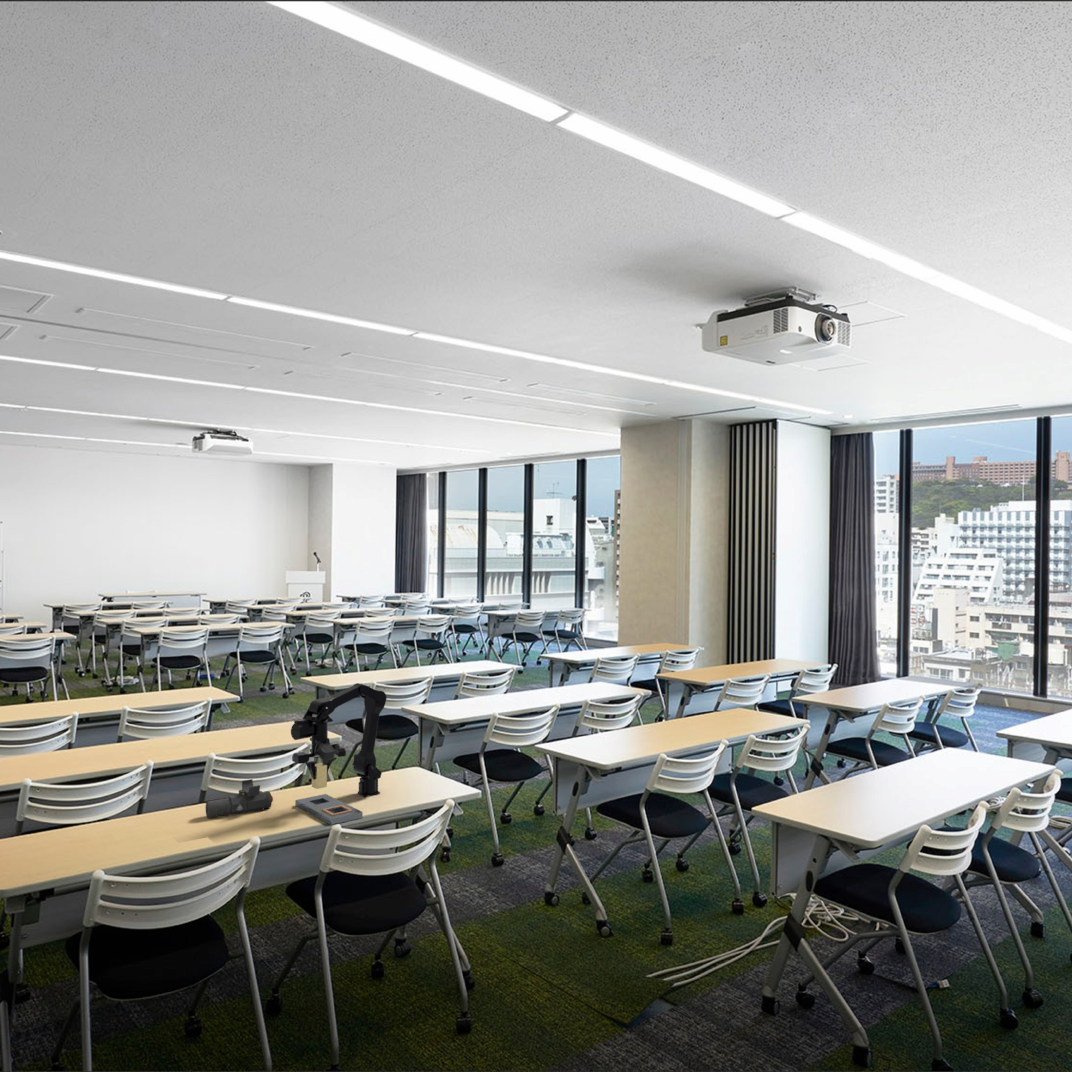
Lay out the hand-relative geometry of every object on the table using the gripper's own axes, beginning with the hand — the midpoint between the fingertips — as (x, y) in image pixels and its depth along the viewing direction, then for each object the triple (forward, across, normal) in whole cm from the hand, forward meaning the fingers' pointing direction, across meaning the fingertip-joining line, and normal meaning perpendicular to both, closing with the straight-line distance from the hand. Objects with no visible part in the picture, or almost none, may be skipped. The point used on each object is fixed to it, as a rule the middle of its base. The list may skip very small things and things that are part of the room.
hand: (319, 778), depth 308 cm
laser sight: (+11, -24, +12) cm, 29 cm away
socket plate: (+10, 0, -7) cm, 13 cm away
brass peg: (+3, 0, 0) cm, 3 cm away
